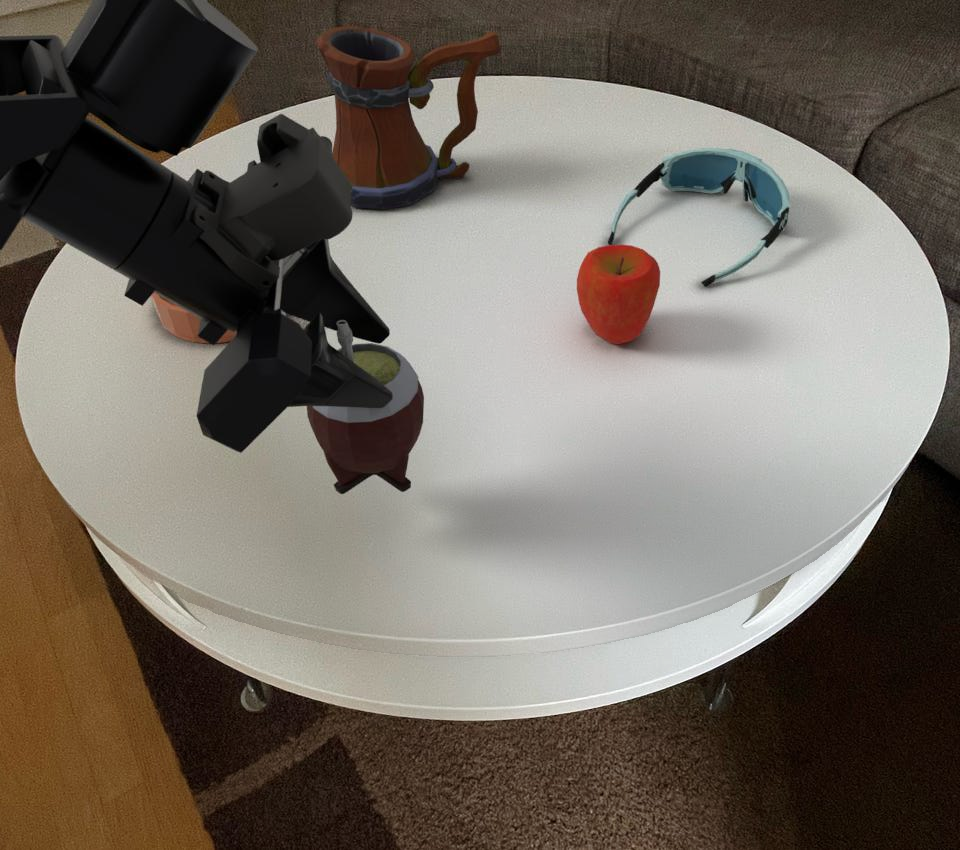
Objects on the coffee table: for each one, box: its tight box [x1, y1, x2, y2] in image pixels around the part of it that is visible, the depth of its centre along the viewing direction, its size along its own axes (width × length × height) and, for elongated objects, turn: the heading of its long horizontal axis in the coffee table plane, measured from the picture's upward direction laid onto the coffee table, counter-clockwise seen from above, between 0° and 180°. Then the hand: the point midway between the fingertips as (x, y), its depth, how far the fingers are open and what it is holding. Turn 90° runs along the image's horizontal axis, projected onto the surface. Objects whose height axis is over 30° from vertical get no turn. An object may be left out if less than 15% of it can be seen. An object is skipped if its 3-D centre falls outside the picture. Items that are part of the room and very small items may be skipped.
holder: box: [150, 293, 237, 344], centre depth 78 cm, size 12×12×3 cm
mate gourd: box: [306, 320, 425, 495], centre depth 54 cm, size 8×8×15 cm
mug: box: [315, 25, 502, 210], centre depth 88 cm, size 18×12×15 cm, turn 93°
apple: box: [576, 244, 661, 345], centre depth 72 cm, size 6×6×8 cm
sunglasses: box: [607, 147, 792, 287], centre depth 83 cm, size 14×15×5 cm
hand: (386, 368), depth 54 cm, fingers closed on mate gourd, 5 cm apart
